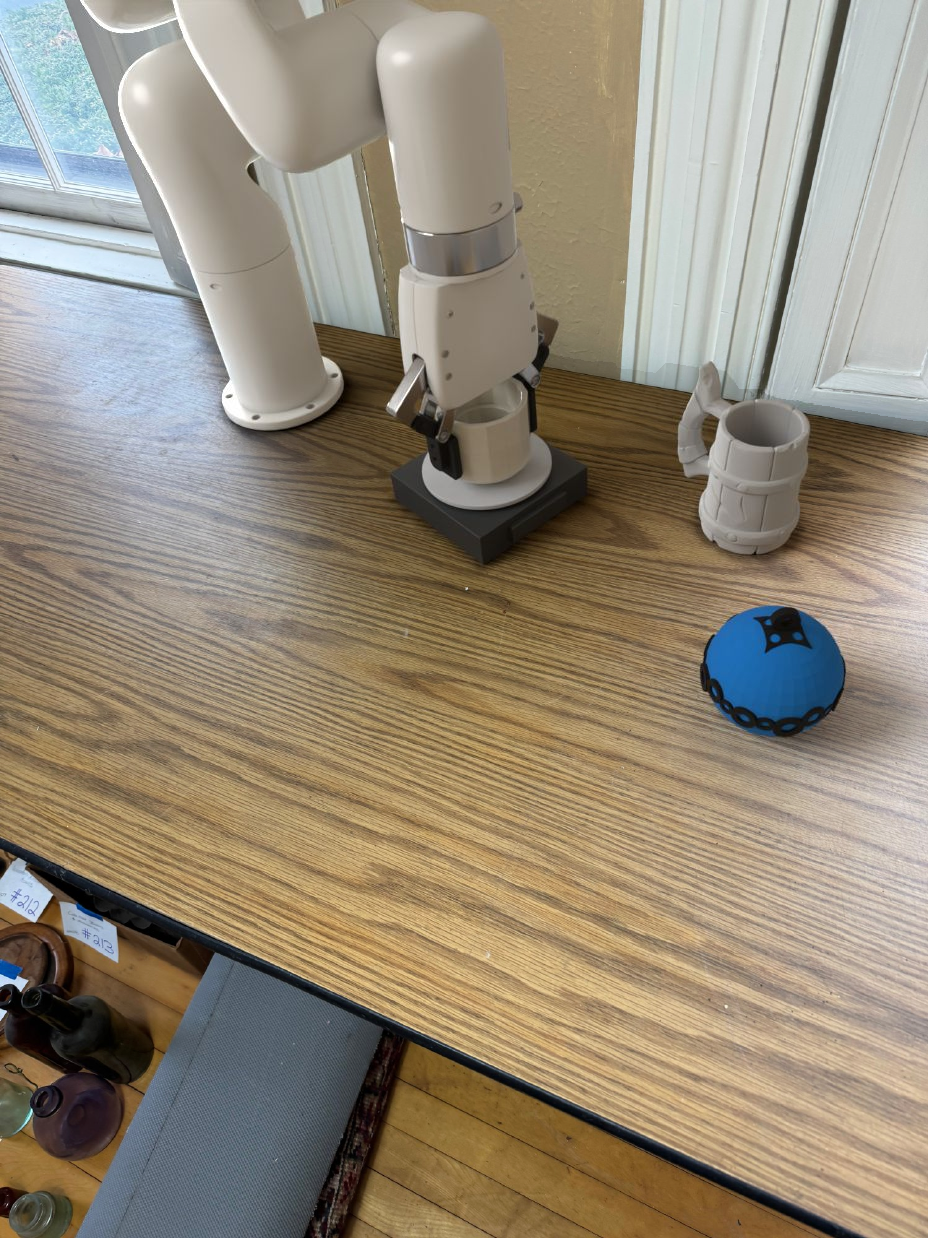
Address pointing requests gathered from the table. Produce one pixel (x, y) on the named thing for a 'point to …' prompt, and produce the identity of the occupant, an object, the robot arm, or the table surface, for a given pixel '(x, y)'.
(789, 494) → the mug
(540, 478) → the scale
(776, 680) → the ornament
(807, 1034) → the table surface
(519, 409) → the off-white faceted cup
